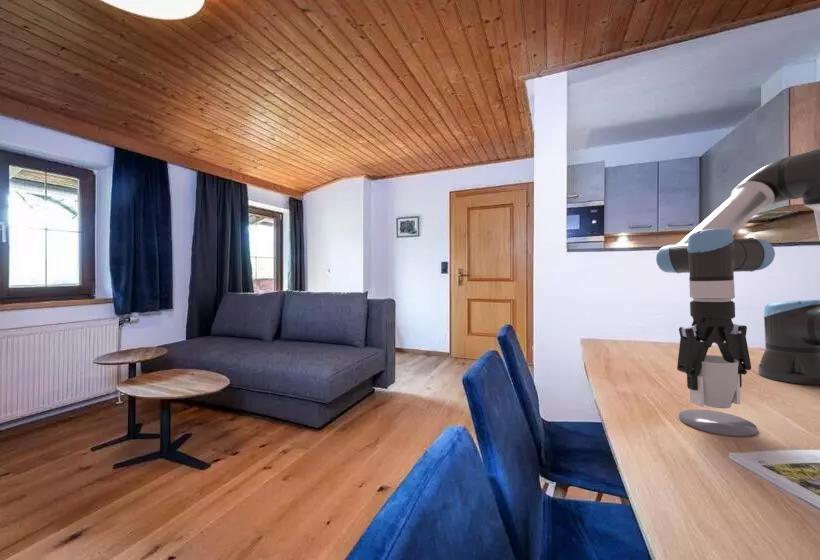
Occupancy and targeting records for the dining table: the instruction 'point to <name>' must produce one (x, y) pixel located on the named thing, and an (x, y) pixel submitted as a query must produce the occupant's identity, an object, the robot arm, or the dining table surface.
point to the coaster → (718, 423)
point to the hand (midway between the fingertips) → (715, 403)
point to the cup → (719, 381)
